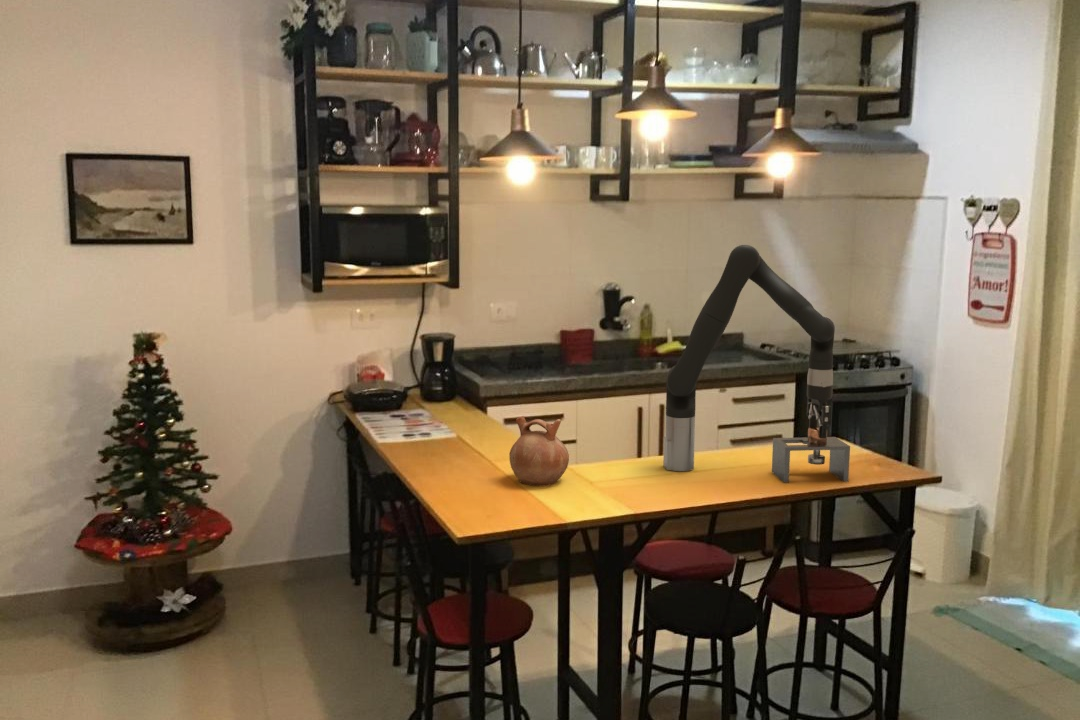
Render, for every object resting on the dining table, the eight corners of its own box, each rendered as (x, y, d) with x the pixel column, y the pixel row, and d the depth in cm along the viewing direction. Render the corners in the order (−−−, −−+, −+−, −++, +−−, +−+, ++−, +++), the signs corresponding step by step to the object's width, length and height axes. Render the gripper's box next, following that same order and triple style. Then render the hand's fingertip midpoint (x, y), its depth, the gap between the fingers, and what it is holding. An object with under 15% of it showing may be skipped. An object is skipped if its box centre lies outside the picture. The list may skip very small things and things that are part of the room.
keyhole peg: (810, 465, 295) (812, 431, 293) (804, 460, 300) (805, 427, 299) (828, 464, 295) (829, 431, 293) (821, 459, 301) (823, 427, 299)
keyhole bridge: (783, 482, 292) (785, 447, 290) (771, 472, 303) (773, 438, 302) (848, 481, 293) (850, 446, 291) (833, 470, 305) (835, 436, 303)
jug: (579, 477, 298) (580, 414, 295) (550, 492, 282) (550, 426, 279) (528, 469, 307) (528, 408, 304) (497, 483, 292) (497, 419, 288)
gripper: (800, 378, 300) (797, 429, 303) (816, 387, 286) (813, 440, 289) (823, 378, 301) (821, 429, 304) (840, 387, 287) (838, 440, 289)
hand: (817, 434), depth 296 cm, fingers open, 8 cm apart
